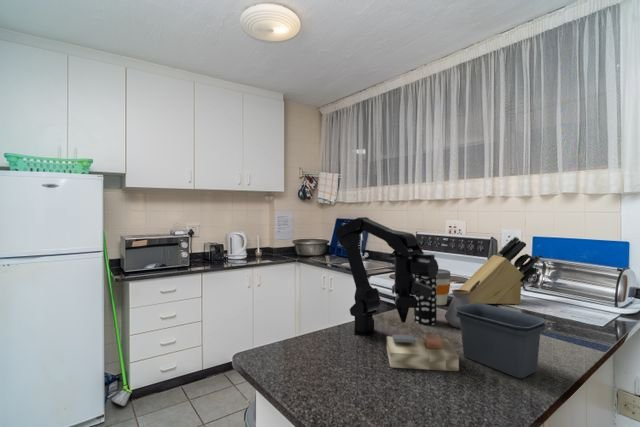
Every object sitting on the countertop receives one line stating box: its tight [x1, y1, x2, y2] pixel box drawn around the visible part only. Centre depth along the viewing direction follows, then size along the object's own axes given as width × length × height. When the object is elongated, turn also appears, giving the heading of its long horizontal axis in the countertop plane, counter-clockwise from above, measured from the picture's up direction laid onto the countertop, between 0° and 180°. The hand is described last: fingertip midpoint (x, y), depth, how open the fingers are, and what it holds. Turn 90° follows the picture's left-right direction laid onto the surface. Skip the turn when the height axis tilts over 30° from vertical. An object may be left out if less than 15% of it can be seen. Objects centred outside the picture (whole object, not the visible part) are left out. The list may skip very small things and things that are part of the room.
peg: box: [423, 333, 443, 350], centre depth 94 cm, size 4×4×7 cm
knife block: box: [458, 236, 541, 305], centre depth 156 cm, size 11×35×31 cm, turn 89°
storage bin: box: [455, 303, 548, 379], centre depth 92 cm, size 21×16×14 cm
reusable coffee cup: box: [437, 268, 452, 306], centre depth 154 cm, size 13×13×15 cm
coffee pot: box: [444, 281, 483, 329], centre depth 126 cm, size 21×12×15 cm, turn 129°
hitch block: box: [386, 335, 460, 372], centre depth 94 cm, size 18×12×4 cm, turn 83°
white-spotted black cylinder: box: [413, 274, 438, 326], centre depth 127 cm, size 8×8×20 cm
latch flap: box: [391, 334, 415, 343], centre depth 97 cm, size 6×6×1 cm
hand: (403, 322), depth 103 cm, fingers closed
